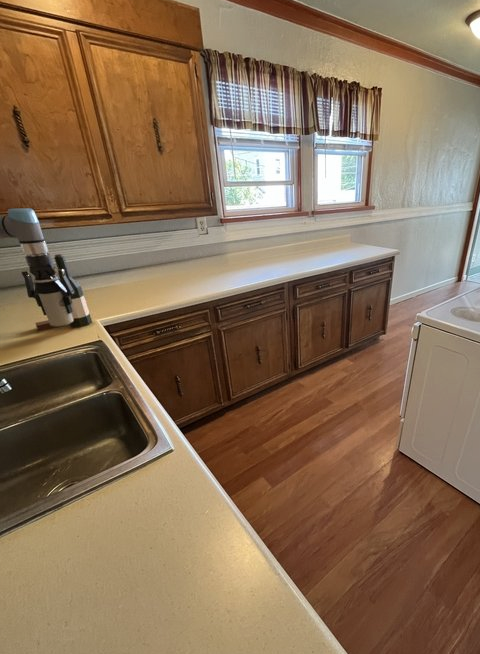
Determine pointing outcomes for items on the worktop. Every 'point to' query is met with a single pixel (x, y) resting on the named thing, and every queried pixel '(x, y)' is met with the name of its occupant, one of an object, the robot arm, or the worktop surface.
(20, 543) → the worktop surface
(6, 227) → the robot arm
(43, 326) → the granola bar
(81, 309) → the wine bottle
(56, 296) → the travel mug
